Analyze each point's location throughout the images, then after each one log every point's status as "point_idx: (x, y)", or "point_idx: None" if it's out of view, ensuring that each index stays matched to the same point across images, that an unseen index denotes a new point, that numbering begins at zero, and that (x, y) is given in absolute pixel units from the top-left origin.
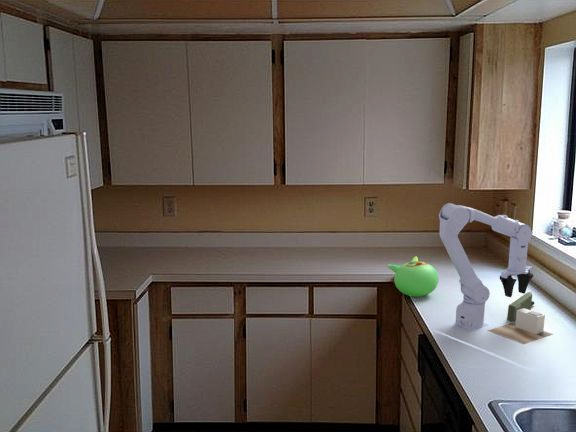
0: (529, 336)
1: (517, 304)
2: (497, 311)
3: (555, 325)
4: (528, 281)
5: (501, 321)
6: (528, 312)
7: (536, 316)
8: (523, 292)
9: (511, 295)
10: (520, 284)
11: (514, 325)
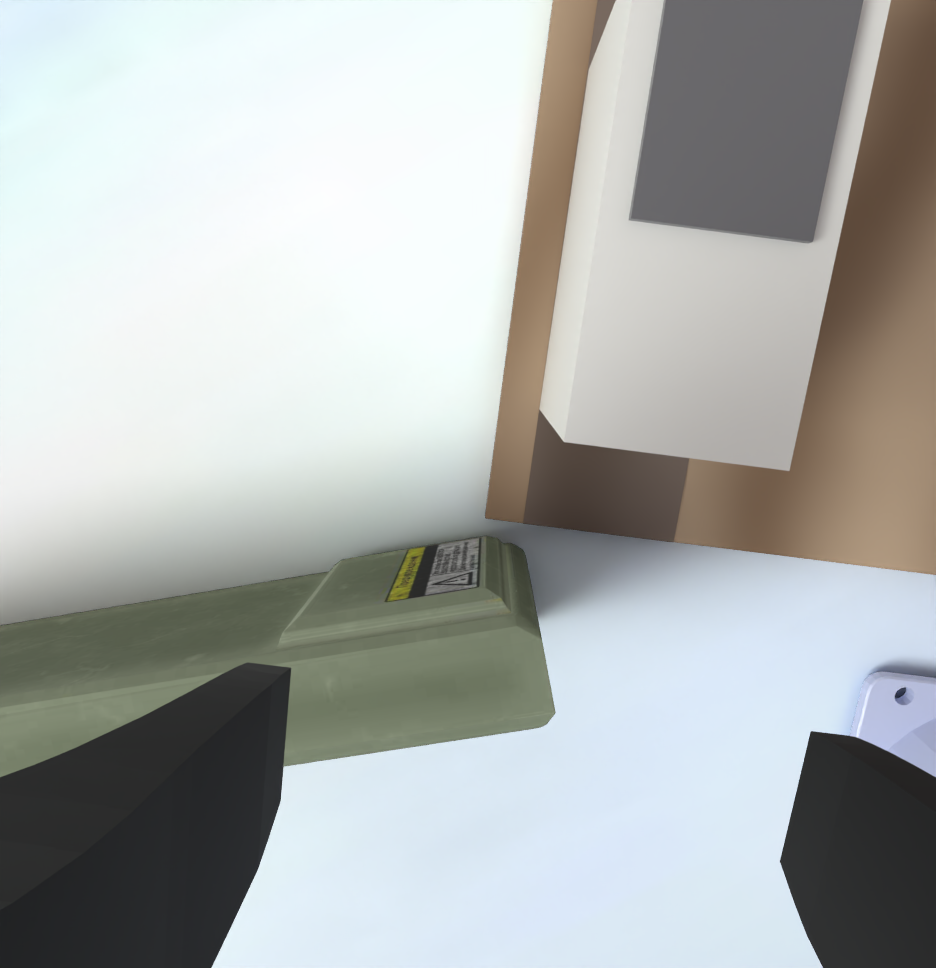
0: (908, 112)
1: (385, 650)
2: (278, 865)
3: (138, 129)
4: (14, 819)
5: (570, 665)
6: (794, 229)
7: (879, 3)
8: (281, 691)
9: (856, 746)
10: (187, 950)
11: (653, 462)
